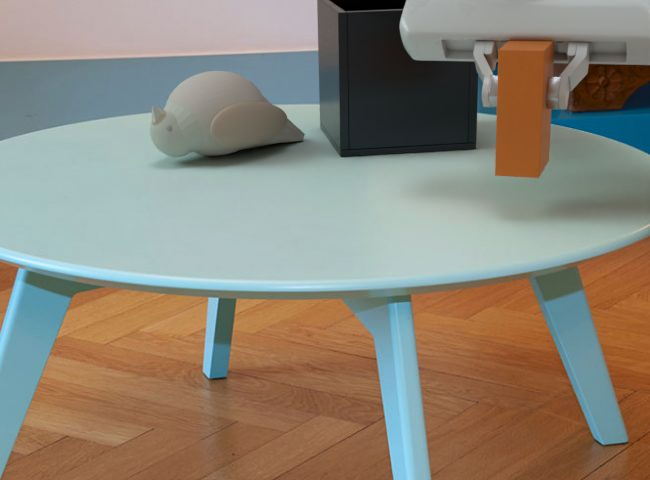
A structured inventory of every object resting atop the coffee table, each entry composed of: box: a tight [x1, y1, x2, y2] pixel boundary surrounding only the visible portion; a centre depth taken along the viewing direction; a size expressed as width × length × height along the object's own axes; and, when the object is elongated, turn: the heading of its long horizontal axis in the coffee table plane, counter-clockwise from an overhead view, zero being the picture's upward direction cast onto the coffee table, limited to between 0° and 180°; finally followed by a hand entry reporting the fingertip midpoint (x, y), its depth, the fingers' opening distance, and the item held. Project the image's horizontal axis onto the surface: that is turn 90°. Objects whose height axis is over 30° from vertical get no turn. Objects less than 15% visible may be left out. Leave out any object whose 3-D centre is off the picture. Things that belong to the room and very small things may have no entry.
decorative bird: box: [149, 70, 306, 158], centre depth 103 cm, size 9×16×8 cm, turn 134°
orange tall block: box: [494, 41, 555, 179], centre depth 82 cm, size 3×5×9 cm, turn 162°
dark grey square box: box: [316, 0, 479, 158], centre depth 106 cm, size 13×13×13 cm
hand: (524, 104), depth 82 cm, fingers closed on orange tall block, 3 cm apart
